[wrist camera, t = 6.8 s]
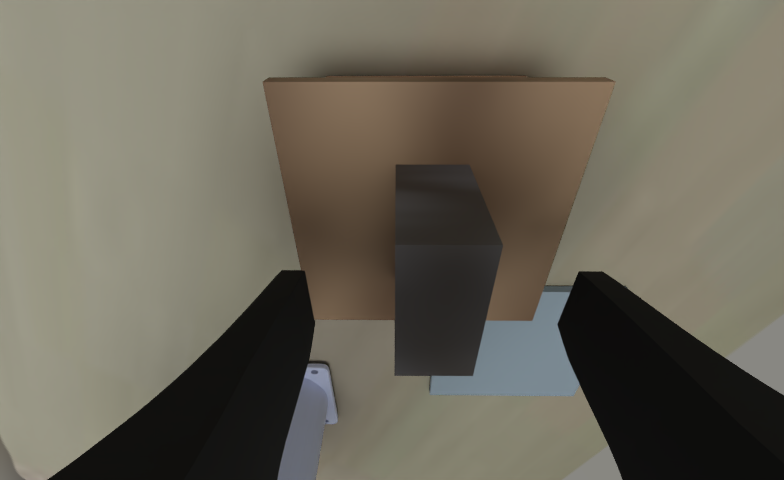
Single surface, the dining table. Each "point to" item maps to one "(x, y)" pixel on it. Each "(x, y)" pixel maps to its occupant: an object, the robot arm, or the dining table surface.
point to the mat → (519, 356)
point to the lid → (432, 199)
